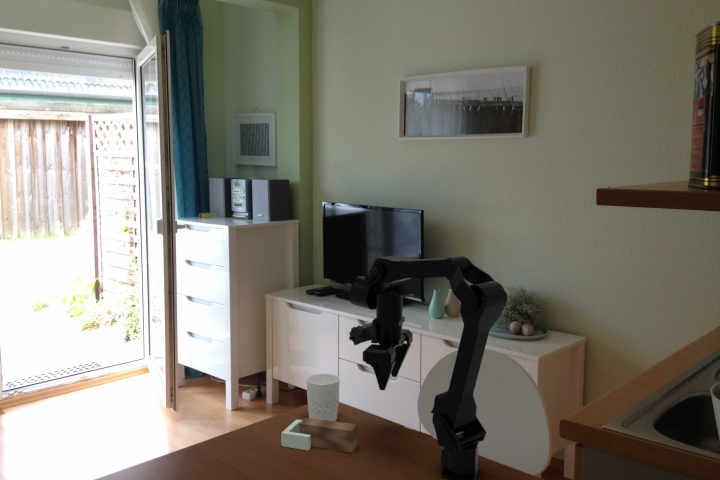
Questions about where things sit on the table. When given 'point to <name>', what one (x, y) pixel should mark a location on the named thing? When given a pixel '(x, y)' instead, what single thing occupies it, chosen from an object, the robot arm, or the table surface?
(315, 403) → the white cup
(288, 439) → the bracket
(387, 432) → the table surface
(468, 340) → the robot arm
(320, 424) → the brown wooden block
